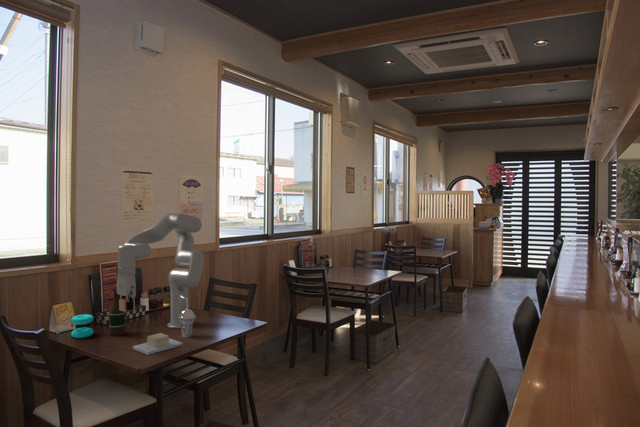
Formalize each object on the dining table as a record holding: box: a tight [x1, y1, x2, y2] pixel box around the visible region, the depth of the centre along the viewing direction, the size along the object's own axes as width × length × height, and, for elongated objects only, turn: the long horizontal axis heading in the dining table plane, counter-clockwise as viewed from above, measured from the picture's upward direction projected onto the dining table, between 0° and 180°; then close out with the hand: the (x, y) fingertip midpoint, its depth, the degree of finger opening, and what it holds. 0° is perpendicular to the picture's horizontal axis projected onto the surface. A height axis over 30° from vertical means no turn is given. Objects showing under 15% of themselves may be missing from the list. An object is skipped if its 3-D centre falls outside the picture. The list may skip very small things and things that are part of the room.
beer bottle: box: [108, 286, 127, 337], centre depth 233 cm, size 8×8×24 cm
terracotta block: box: [119, 298, 136, 312], centre depth 215 cm, size 5×5×5 cm
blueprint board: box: [132, 332, 184, 356], centre depth 213 cm, size 18×13×5 cm
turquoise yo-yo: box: [71, 313, 95, 339], centre depth 230 cm, size 10×10×10 cm
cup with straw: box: [178, 296, 196, 339], centre depth 231 cm, size 8×9×20 cm
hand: (126, 308), depth 215 cm, fingers closed on terracotta block, 4 cm apart
